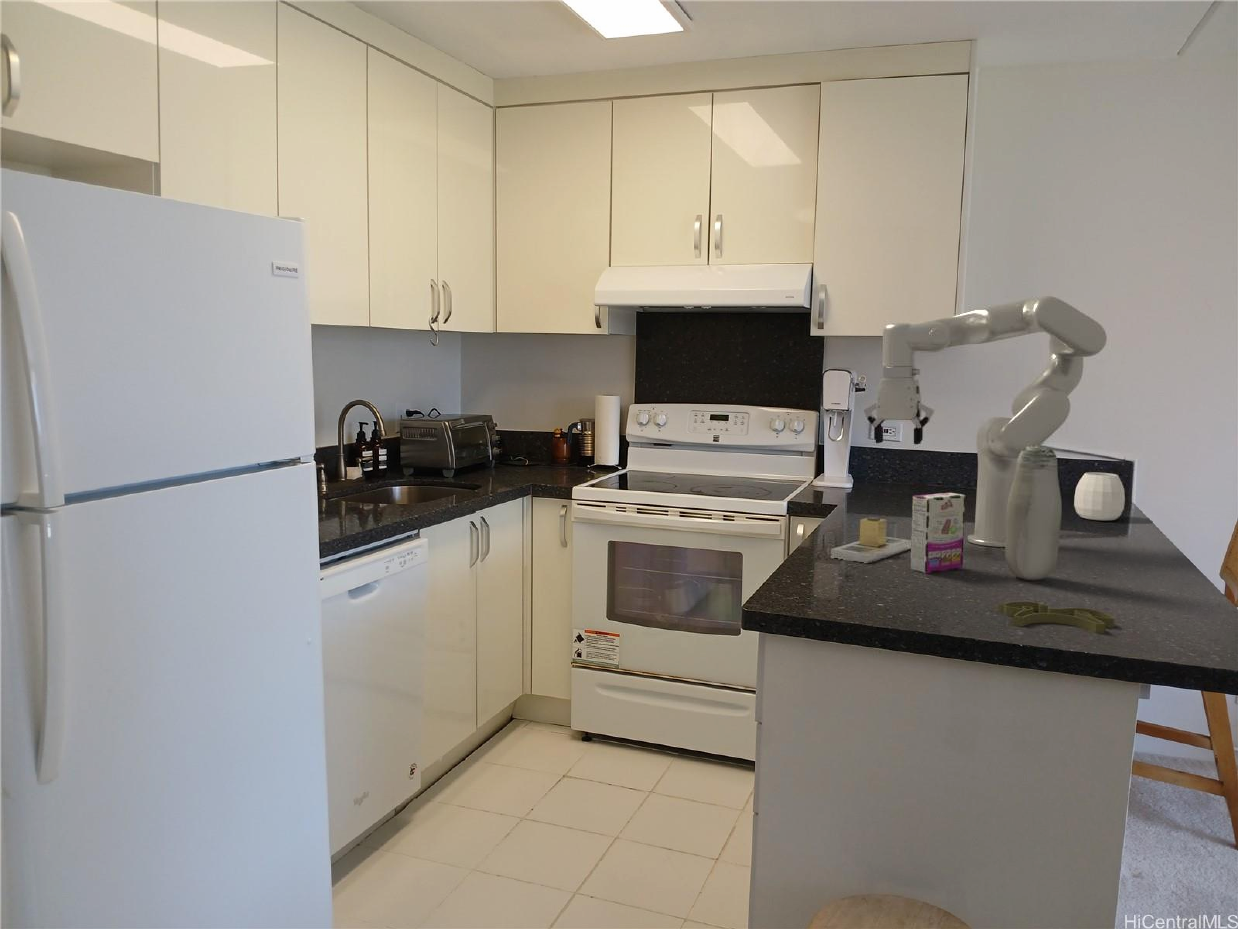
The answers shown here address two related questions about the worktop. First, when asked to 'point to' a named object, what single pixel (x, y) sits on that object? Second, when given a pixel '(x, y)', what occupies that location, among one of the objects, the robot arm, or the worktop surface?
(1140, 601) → the worktop surface
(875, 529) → the tan hollow block
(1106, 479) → the white faceted vase
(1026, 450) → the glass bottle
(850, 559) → the white rectangular frame
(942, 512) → the candy bar box
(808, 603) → the worktop surface
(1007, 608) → the cookie cutter
